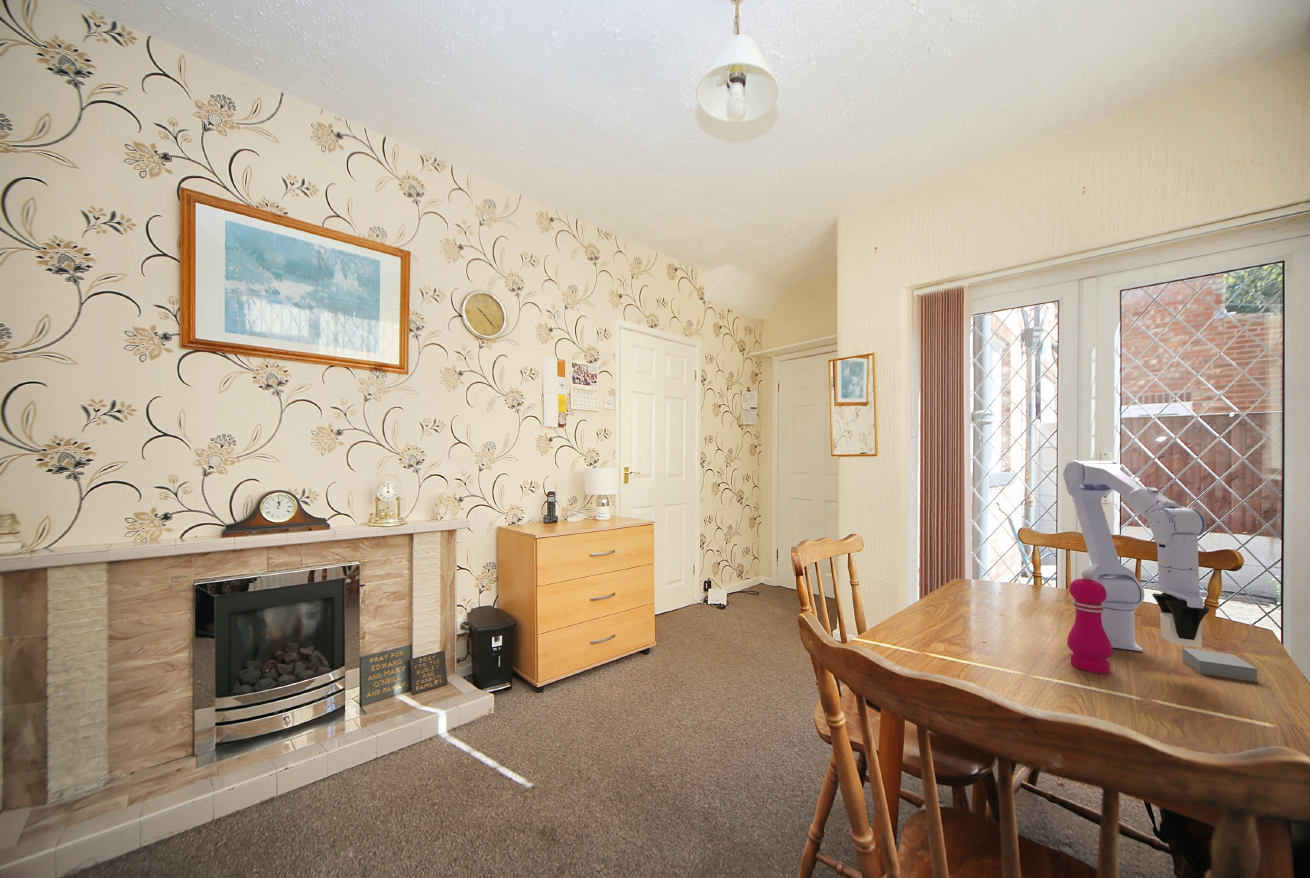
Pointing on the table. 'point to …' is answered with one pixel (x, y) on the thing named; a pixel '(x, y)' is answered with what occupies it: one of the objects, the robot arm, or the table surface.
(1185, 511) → the robot arm
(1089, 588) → the pepper mill
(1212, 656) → the gray base block
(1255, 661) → the table surface
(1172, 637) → the cream block
